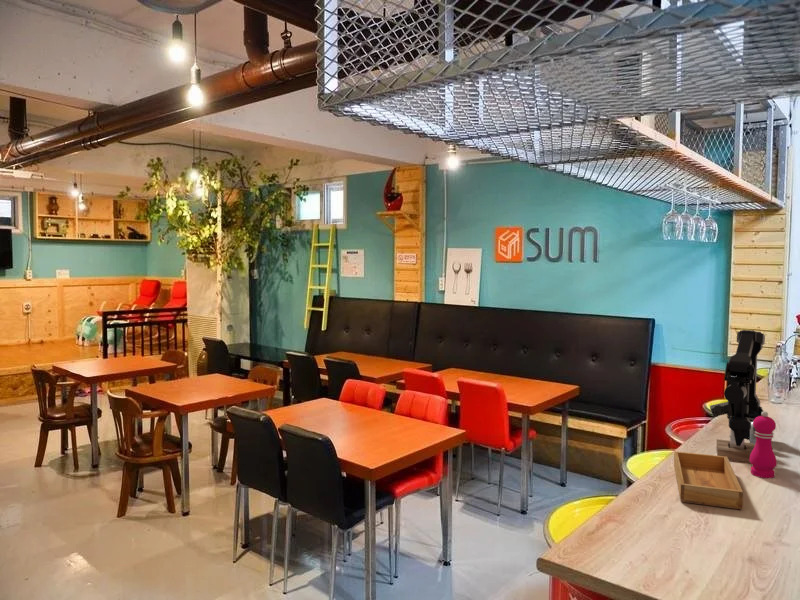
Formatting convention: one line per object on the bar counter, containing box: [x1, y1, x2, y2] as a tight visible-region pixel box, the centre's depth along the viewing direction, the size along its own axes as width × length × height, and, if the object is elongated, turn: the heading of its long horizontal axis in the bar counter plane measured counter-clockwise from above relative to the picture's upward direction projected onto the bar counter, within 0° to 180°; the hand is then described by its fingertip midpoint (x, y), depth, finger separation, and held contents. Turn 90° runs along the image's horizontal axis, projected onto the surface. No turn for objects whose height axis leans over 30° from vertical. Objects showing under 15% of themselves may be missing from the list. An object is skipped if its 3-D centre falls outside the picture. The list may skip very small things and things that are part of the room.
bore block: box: [716, 438, 755, 463], centre depth 200 cm, size 12×12×3 cm
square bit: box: [729, 428, 745, 450], centre depth 200 cm, size 4×4×9 cm
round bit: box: [749, 421, 756, 444], centre depth 208 cm, size 4×4×9 cm
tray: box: [673, 450, 744, 510], centre depth 174 cm, size 31×15×6 cm, turn 158°
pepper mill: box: [749, 410, 778, 479], centre depth 182 cm, size 7×7×20 cm
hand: (737, 442), depth 200 cm, fingers open, 8 cm apart
